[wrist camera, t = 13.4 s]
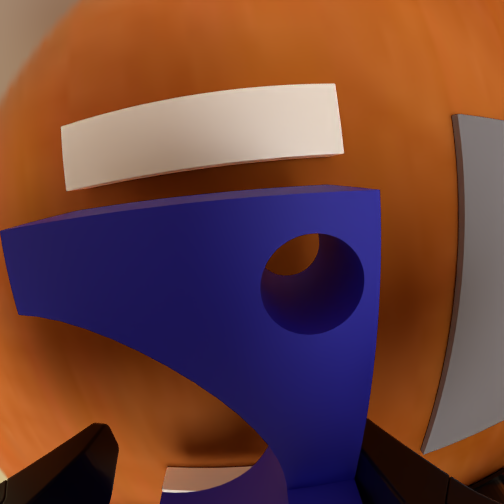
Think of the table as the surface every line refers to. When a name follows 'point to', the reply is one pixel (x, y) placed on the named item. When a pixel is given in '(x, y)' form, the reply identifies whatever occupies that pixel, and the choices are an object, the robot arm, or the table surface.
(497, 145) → the mat
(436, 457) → the table surface
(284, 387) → the cable clip
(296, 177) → the table surface
